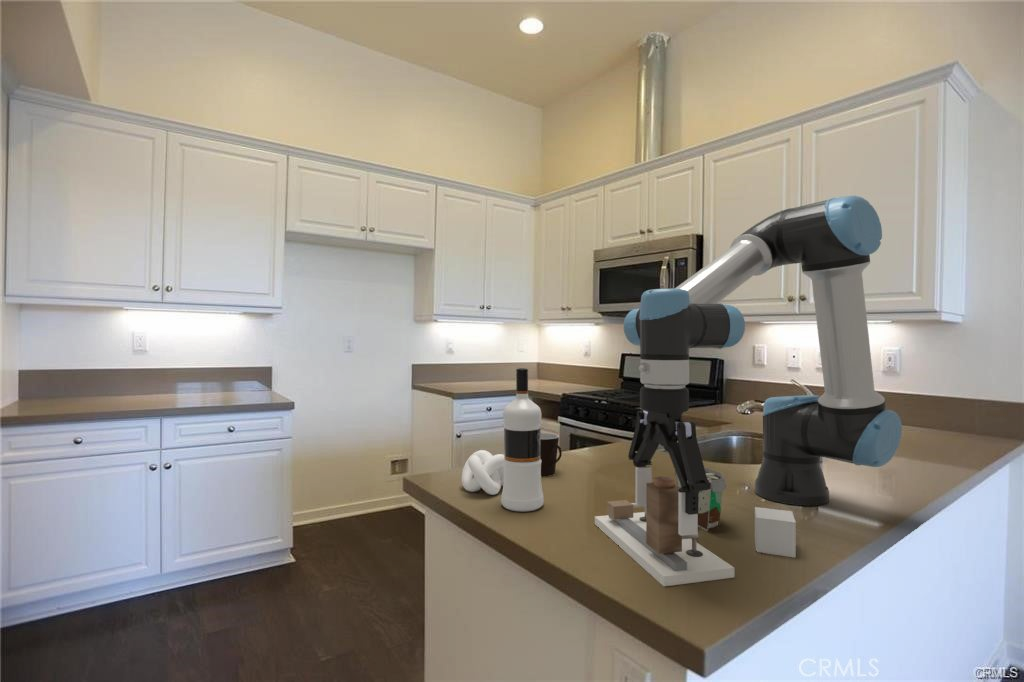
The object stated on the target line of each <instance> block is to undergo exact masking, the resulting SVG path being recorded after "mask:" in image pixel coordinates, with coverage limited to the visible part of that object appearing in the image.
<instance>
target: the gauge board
mask: <svg viewBox="0 0 1024 682" xmlns="http://www.w3.org/2000/svg"><path fill="white" fill-rule="evenodd" d="M635 508H644V511H642V512H641V511H640V512H639V511H638V512H634V509H635ZM594 525H595V526H596V527H599V529H600V530H601V531H602V532H603V533H604V534H605V535H606V536H607V537H608V538H610V539H611V541H613V542H614V543H615V544H616V545H617V546H618V545H619V546H618V547H620V548H621V550H623V551H624V552H625V553H626V555H628V556H629V557H630V558H632V560H634V561H635V563H637V564H638V565H639V566H641V567H642V568H643V570H645V571H646V572H647V573H648V574H649V575H650V576H651V577H652V578H654V579H655V580H656V582H658V583H659V584H660V585H661V586H663V587H669V586H670V587H671V586H677V585H679V586H680V585H685V584H692V583H701V582H708V581H709V582H710V581H716V580H718V581H719V580H724V579H725V580H726V579H732V578H735V566H733V565H731V564H729V563H728V562H727V561H725V560H723V559H722V558H721V557H719V556H717V554H715V553H713V552H711V550H709V549H707V548H705V546H703V545H701V544H699V543H698V542H697V548H696V553H694V552H692V538H691V539H682V552H673V553H664V554H658V553H657V552H656V551H654V550H653V549H652V548H651V547H650V546H648V545H647V544H646V505H644V506H637V505H635V502H630V501H629V500H627V499H624V500H623V499H621V500H612V501H611V500H610V501H606V515H597V516H596V515H595V516H594Z"/></svg>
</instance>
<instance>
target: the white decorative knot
mask: <svg viewBox="0 0 1024 682" xmlns="http://www.w3.org/2000/svg"><path fill="white" fill-rule="evenodd" d="M503 460H504V453H501V454H500V453H499V454H494V455H493V454H492V453H491V452H489V451H488V450H484V449H480V450H477V451H475V452H473V453H471V455H470V456H469V457H468V459H467V460H466V461H465V464H464V466H463V468H462V472H461V484H462V486H463V488H464V489H465V490H466V491H468V492H469V493H470V492H471V493H474V492H478V491H479V490H481V489H482V490H483V491H484V492H485V493H486V494H488V495H492V496H495V495H497V494H499V492H500V490H501V487H502V484H503V483H504V463H503Z"/></svg>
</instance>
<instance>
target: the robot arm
mask: <svg viewBox="0 0 1024 682" xmlns="http://www.w3.org/2000/svg"><path fill="white" fill-rule="evenodd" d="M882 229H883V227H882V225H881V220H880V217H879V214H878V212H877V211H876V209H875V208H874V206H873V205H872V204H871V203H870V202H869V201H868V200H867V199H865V198H863V197H862V196H859V195H846V196H840V197H832V198H829V199H826V200H821V201H818V202H812V203H809V204H805V205H800V206H797V207H796V206H795V207H792V208H787V209H783V210H780V211H778V212H775V213H773V214H771V215H769V216H767V217H765V218H764V219H762V220H761V221H759V222H757V223H756V224H754V225H753V226H751V227H749V228H748V229H746V230H745V231H744V232H742V233H741V234H740V235H738V236H737V237H735V238H734V239H733V240H732V241H731V244H730V247H729V248H728V249H727V250H726V251H725V252H723V253H721V254H720V255H719V256H718V257H716V258H714V259H713V260H712V261H710V262H708V264H706V265H705V266H703V267H702V268H701V269H700V270H698V271H696V272H695V273H694V274H693V275H691V276H690V277H688V278H687V279H686V280H684V281H683V282H682V283H680V284H679V285H678V286H676V287H675V288H655V289H654V288H653V289H648V290H645V291H644V292H643V293H642V295H641V297H640V307H639V308H634V309H632V310H631V311H630V310H629V312H628V313H627V314H626V316H625V317H624V321H623V333H624V335H625V337H626V339H627V340H628V342H629V343H630V344H632V345H633V346H639V348H640V349H639V350H640V353H639V354H640V356H639V357H640V362H639V363H640V365H639V366H638V370H639V372H640V374H639V375H640V376H639V377H640V379H639V381H640V383H641V384H643V386H641V388H640V389H639V407H640V409H641V410H637V412H636V423H635V427H634V432H633V435H632V440H631V443H630V447H629V450H628V451H629V452H628V455H627V456H628V460H629V461H632V464H633V466H634V469H635V472H634V474H635V477H634V478H635V479H634V481H635V482H634V484H635V487H634V488H635V490H634V491H635V492H634V493H635V494H634V495H635V496H634V497H635V502H634V503H635V505H637V506H644V505H646V483H653V480H652V479H653V477H652V476H653V474H652V473H653V469H652V465H653V462H652V459H653V457H654V455H655V453H656V451H657V449H658V447H659V446H662V447H663V449H664V451H666V452H668V454H669V457H670V460H671V463H672V465H673V468H674V472H675V471H676V473H677V476H678V479H679V481H680V484H681V488H680V489H679V490H678V491H679V493H678V534H679V535H681V536H685V535H694V534H698V535H699V533H698V532H699V531H698V528H699V527H698V501H699V492H700V491H704V490H708V489H709V484H708V480H707V476H706V472H705V469H704V468H705V464H704V462H703V458H702V454H701V450H700V447H699V446H700V445H699V443H698V439H697V426H696V423H695V422H694V421H689V422H688V421H687V422H685V421H684V422H683V417H682V416H683V413H686V412H688V411H689V408H690V390H689V389H688V388H687V387H686V386H687V385H689V384H690V349H719V350H722V349H723V348H724V349H725V348H731V347H733V346H736V345H737V344H738V343H739V342H740V341H741V340H742V338H743V336H744V334H745V331H746V321H745V317H744V315H743V313H742V312H741V311H740V310H739V309H738V308H737V307H735V306H734V305H730V304H724V303H722V302H721V301H722V300H724V299H725V298H727V297H728V296H729V295H730V294H732V293H733V292H734V291H735V290H737V289H738V288H739V287H741V285H743V284H744V283H746V282H747V281H749V279H751V278H753V276H755V277H757V276H761V275H763V274H765V273H767V272H768V271H769V270H771V269H774V268H777V267H781V266H785V265H793V264H801V271H802V272H801V273H802V274H804V275H805V276H807V277H808V278H810V280H811V285H812V292H813V293H812V294H813V301H814V309H815V311H814V312H815V319H816V328H817V336H818V343H819V353H820V360H821V361H820V362H821V369H822V371H821V372H822V378H823V389H824V392H823V393H822V395H815V394H813V395H812V394H811V395H810V394H808V395H806V394H805V395H786V396H785V395H784V396H783V395H782V396H774V397H773V396H771V397H768V398H766V399H765V401H764V402H763V408H762V414H761V415H762V416H761V418H762V462H761V464H760V467H759V470H758V474H757V476H756V479H755V480H754V492H755V494H756V495H758V496H759V497H761V498H764V499H766V500H769V501H773V502H777V503H781V504H787V505H795V506H796V505H797V506H809V507H810V506H821V505H825V504H827V503H829V502H830V490H829V487H828V486H827V484H826V480H825V476H824V473H823V470H822V467H821V458H826V459H829V460H835V461H838V462H839V461H840V462H844V463H849V464H852V465H853V464H854V465H855V466H865V467H872V468H879V467H883V466H885V465H886V464H888V463H889V462H890V461H891V460H892V459H893V458H894V456H895V455H896V453H897V451H898V449H899V446H900V443H901V438H902V434H903V433H902V432H903V427H902V425H903V424H902V420H901V418H900V417H899V414H898V413H897V412H895V411H893V410H892V409H886V399H885V397H884V396H883V395H882V394H881V393H879V392H878V391H876V390H875V384H874V383H875V381H874V374H873V373H874V372H873V365H872V356H871V354H872V353H871V345H870V335H869V327H868V326H869V324H868V319H867V318H868V317H867V307H866V299H865V290H864V281H863V279H864V278H863V271H864V270H865V269H866V268H867V267H868V266H869V265H870V264H871V256H870V255H873V254H874V253H875V252H877V251H878V250H879V248H880V246H881V244H882V243H881V240H882V238H883V230H882ZM687 481H688V482H687ZM699 481H700V482H699Z"/></svg>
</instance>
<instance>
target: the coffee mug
mask: <svg viewBox="0 0 1024 682" xmlns="http://www.w3.org/2000/svg"><path fill="white" fill-rule="evenodd" d="M559 438H560V435H558V434H555V433H550V432H549V433H547V432H541V461H542V462H541V477H549V476H548V475H552V476H554V475H555V474H556V465H557V463H558V462H559V461H560V459H561V457H562V454H563V453H562V448H561V447H560V445H559ZM558 452H559V453H558ZM553 474H554V475H553Z"/></svg>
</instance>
